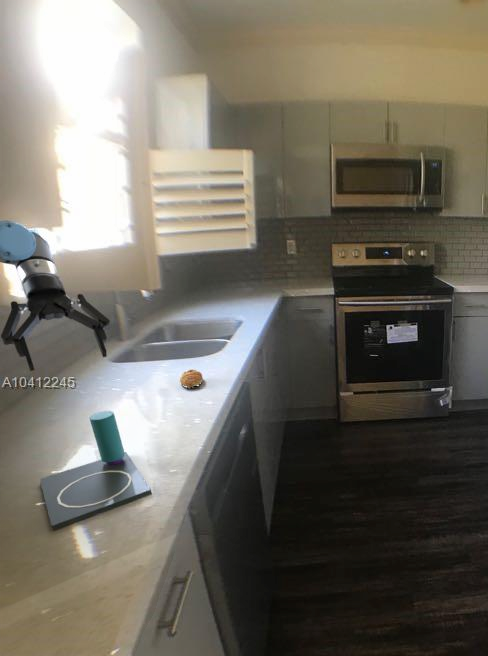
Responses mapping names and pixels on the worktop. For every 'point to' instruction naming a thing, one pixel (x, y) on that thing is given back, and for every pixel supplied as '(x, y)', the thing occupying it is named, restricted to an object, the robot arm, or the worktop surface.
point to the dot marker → (107, 437)
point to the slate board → (91, 490)
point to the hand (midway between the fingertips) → (69, 360)
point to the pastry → (191, 378)
